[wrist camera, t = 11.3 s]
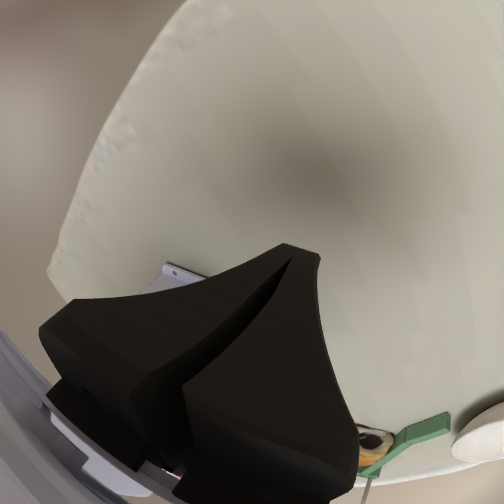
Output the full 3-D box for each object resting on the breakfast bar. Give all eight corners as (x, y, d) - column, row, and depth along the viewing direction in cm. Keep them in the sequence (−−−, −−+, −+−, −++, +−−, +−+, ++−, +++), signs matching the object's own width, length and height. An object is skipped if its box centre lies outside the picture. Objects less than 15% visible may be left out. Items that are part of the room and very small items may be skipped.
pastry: (368, 457, 31) (362, 480, 28) (324, 446, 33) (315, 469, 30) (398, 431, 26) (393, 459, 23) (346, 418, 28) (337, 446, 25)
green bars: (260, 433, 37) (230, 488, 29) (283, 364, 27) (238, 451, 19) (380, 468, 31) (363, 526, 23) (453, 413, 21) (446, 500, 13)
